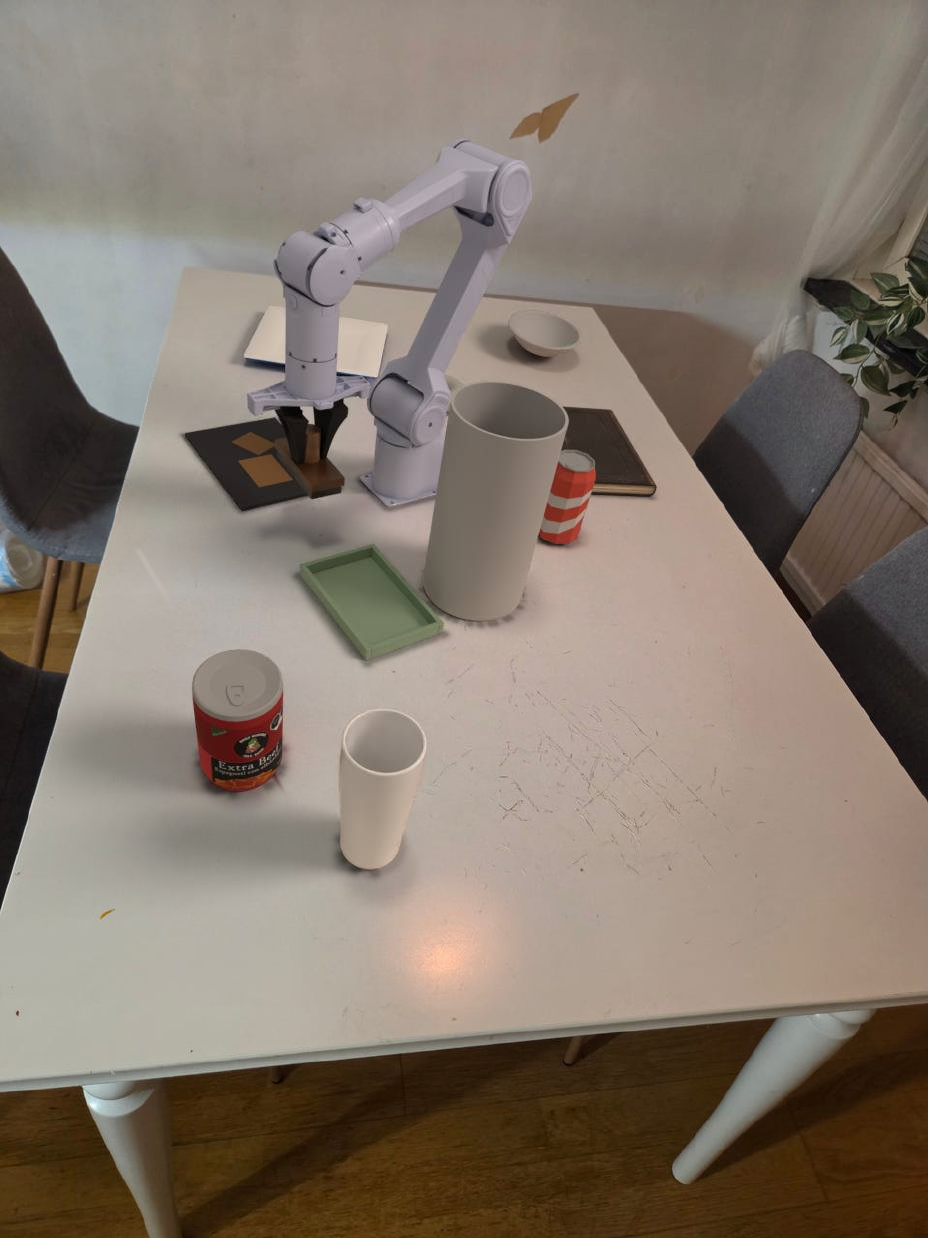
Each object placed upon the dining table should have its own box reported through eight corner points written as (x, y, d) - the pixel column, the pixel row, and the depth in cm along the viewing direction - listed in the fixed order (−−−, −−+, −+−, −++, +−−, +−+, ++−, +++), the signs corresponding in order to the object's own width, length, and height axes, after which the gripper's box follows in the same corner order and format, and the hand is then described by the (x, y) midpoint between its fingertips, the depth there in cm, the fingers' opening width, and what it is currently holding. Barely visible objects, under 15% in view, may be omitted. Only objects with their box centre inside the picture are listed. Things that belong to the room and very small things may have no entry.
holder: (372, 555, 102) (373, 543, 101) (441, 635, 93) (444, 623, 92) (299, 576, 97) (299, 564, 96) (365, 662, 88) (366, 650, 87)
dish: (501, 329, 162) (506, 305, 159) (570, 339, 164) (576, 315, 160) (505, 367, 149) (511, 342, 146) (580, 378, 151) (587, 353, 147)
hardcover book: (555, 493, 120) (559, 480, 118) (522, 415, 136) (525, 403, 135) (653, 497, 123) (658, 484, 122) (610, 421, 140) (614, 409, 138)
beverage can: (524, 531, 111) (543, 456, 103) (551, 515, 115) (572, 442, 107) (557, 553, 109) (580, 478, 101) (585, 536, 112) (608, 463, 104)
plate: (376, 387, 135) (377, 376, 134) (242, 367, 133) (242, 355, 132) (387, 333, 152) (388, 323, 151) (268, 315, 150) (268, 304, 148)
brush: (274, 455, 101) (274, 410, 97) (306, 450, 103) (307, 405, 99) (310, 501, 95) (312, 454, 91) (344, 494, 98) (347, 448, 93)
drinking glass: (332, 812, 73) (341, 705, 63) (406, 813, 75) (426, 708, 65) (330, 880, 68) (339, 775, 58) (408, 880, 70) (430, 777, 60)
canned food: (212, 804, 72) (204, 726, 65) (190, 739, 77) (180, 659, 70) (294, 779, 75) (296, 702, 68) (268, 718, 80) (267, 640, 73)
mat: (274, 419, 123) (274, 416, 122) (336, 488, 112) (337, 485, 111) (184, 435, 115) (184, 432, 115) (241, 511, 104) (241, 507, 104)
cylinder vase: (471, 547, 106) (507, 371, 90) (540, 598, 101) (592, 421, 84) (401, 581, 99) (426, 396, 82) (471, 639, 93) (513, 453, 77)
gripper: (265, 375, 83) (266, 485, 92) (386, 359, 90) (376, 462, 99) (238, 346, 87) (241, 454, 96) (356, 332, 94) (349, 434, 103)
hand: (308, 456), depth 98 cm, fingers closed on brush, 2 cm apart
